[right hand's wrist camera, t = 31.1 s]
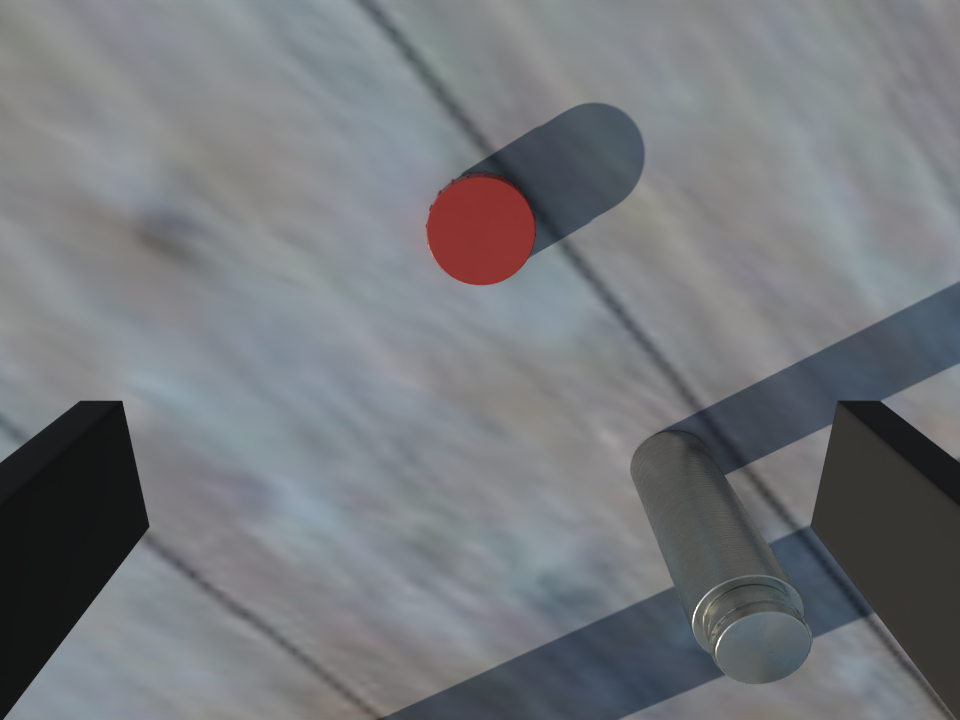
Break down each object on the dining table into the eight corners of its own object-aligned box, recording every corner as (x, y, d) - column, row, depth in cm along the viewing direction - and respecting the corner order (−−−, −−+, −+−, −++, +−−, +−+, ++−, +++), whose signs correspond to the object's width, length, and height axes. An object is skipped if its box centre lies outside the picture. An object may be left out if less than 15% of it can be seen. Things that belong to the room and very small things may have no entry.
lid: (475, 297, 38) (475, 307, 36) (406, 219, 37) (402, 226, 35) (555, 231, 37) (558, 238, 35) (487, 147, 35) (487, 151, 33)
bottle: (649, 510, 43) (728, 708, 30) (617, 451, 42) (686, 630, 28) (721, 478, 43) (838, 667, 29) (691, 417, 41) (801, 585, 27)
